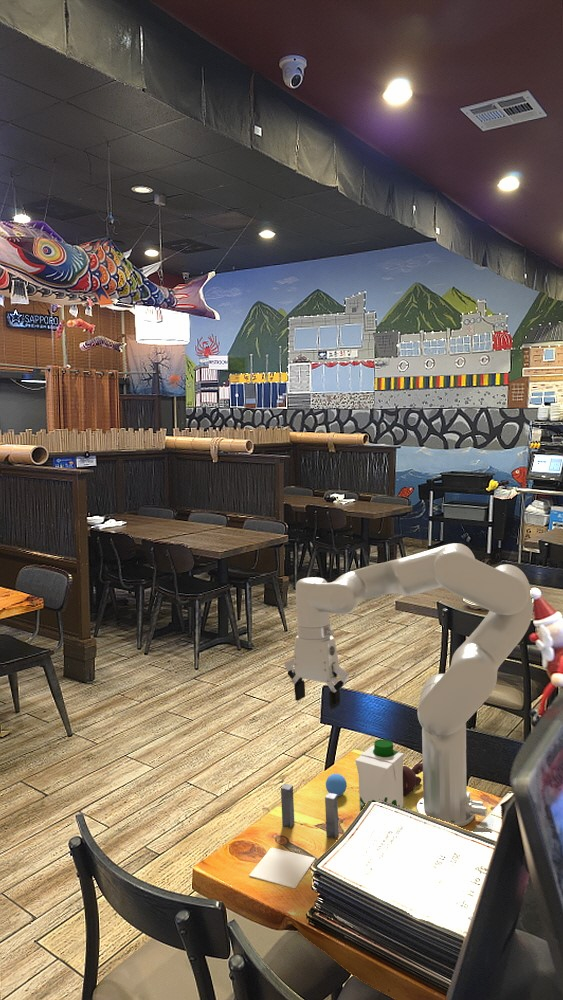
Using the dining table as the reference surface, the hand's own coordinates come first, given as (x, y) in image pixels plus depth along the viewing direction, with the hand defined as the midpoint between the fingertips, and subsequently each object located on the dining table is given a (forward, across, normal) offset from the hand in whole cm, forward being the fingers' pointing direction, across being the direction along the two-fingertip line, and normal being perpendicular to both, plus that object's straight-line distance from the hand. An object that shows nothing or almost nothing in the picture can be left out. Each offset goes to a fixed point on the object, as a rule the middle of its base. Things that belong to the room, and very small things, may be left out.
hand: (317, 702), depth 163 cm
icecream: (+24, -15, -12) cm, 31 cm away
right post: (+24, -10, +11) cm, 28 cm away
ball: (+21, -2, -3) cm, 21 cm away
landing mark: (+24, -8, +26) cm, 36 cm away
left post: (+24, 0, +14) cm, 27 cm away
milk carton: (+24, -19, +6) cm, 31 cm away
